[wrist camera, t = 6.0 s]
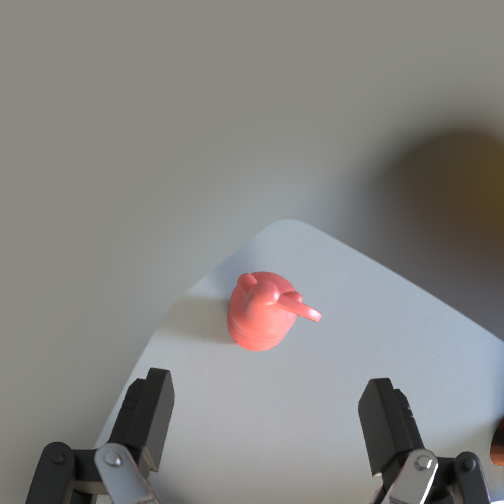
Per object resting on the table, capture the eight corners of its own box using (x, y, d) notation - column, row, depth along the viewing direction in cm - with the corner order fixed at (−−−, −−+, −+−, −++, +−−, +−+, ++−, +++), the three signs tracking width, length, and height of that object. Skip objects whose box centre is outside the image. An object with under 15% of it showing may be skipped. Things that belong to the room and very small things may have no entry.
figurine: (293, 308, 28) (344, 258, 14) (274, 359, 26) (308, 366, 12) (241, 288, 28) (240, 219, 14) (220, 339, 27) (194, 323, 12)
